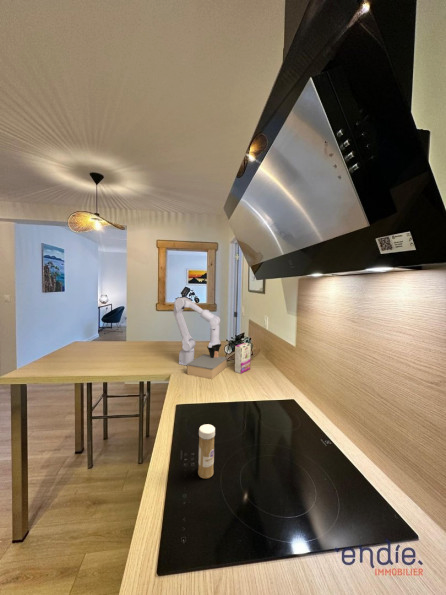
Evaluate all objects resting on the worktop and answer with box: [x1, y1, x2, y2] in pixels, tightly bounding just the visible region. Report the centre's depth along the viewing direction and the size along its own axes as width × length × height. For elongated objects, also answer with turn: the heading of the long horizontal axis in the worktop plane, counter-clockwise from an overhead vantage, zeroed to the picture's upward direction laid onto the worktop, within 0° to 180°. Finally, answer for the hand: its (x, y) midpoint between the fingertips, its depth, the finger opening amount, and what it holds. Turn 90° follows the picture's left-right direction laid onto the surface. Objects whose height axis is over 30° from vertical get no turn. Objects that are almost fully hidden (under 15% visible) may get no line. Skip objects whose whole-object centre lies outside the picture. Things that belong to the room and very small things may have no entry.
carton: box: [186, 358, 228, 380], centre depth 155 cm, size 16×22×6 cm
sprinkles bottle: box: [197, 423, 216, 479], centre depth 72 cm, size 5×5×14 cm
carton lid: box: [186, 351, 228, 369], centre depth 155 cm, size 17×23×4 cm
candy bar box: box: [234, 342, 252, 375], centre depth 157 cm, size 11×5×16 cm, turn 143°
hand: (214, 356), depth 163 cm, fingers open, 6 cm apart
